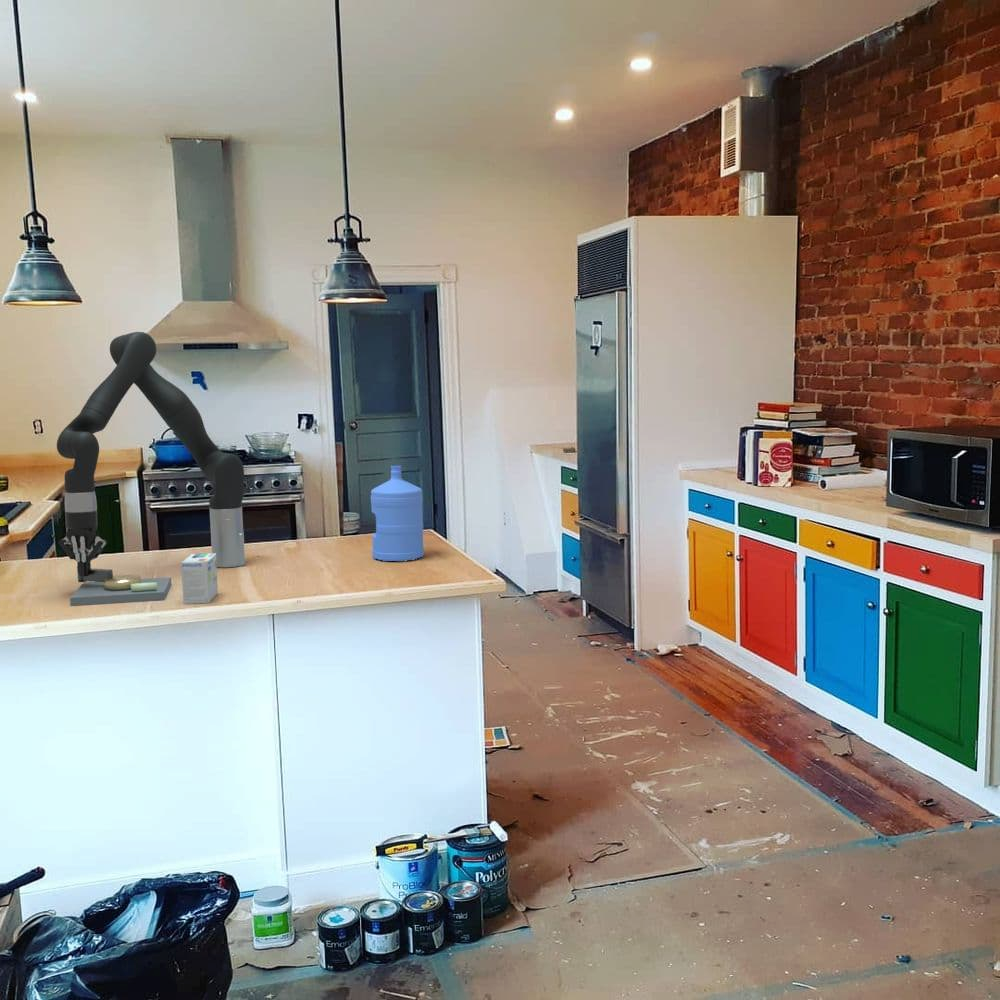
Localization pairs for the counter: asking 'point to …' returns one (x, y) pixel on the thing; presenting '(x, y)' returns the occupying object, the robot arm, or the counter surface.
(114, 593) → the instrument base
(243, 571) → the counter surface
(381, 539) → the water jug
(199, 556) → the light bulb box
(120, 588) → the tan disc with handle
